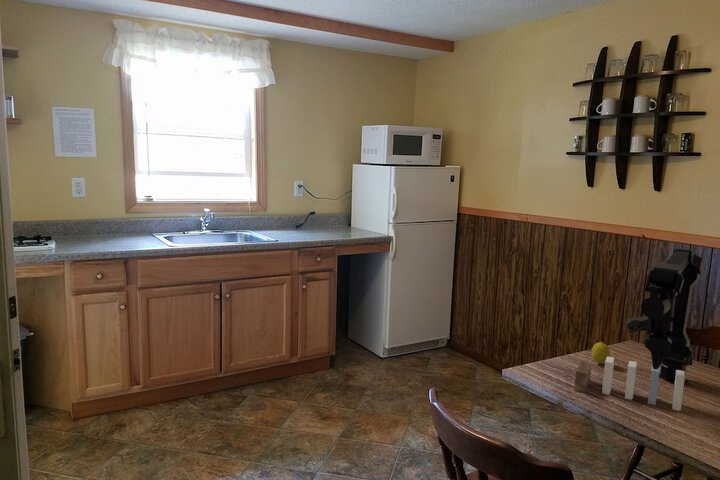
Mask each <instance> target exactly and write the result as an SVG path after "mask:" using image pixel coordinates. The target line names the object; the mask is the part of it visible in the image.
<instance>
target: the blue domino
mask: <svg viewBox="0 0 720 480" xmlns="http://www.w3.org/2000/svg"><path fill="white" fill-rule="evenodd" d="M660 370H661V366H660V367H659V368H658V369H653V364H652V365H651V370H650V378H649V380H650V381H649V388H648V399H647V404H648V405H652V404H653V406H656V405H657V396H658V388H659V387H658V385H659V381H660V380H659V379H660V377H659V374H660Z"/></svg>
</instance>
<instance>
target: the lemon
mask: <svg viewBox="0 0 720 480" xmlns="http://www.w3.org/2000/svg"><path fill="white" fill-rule="evenodd" d="M610 355H611V353H610V348H609V347H608V345H607V344H606V343H604V342H603V341H600V342H596V343H595V344H594V345H593V346H592V349H591V356H592V359H593V361H595V362H596V363H597V364H598V365H602V364H605V361H606V358H607V356H608V357H610Z"/></svg>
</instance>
